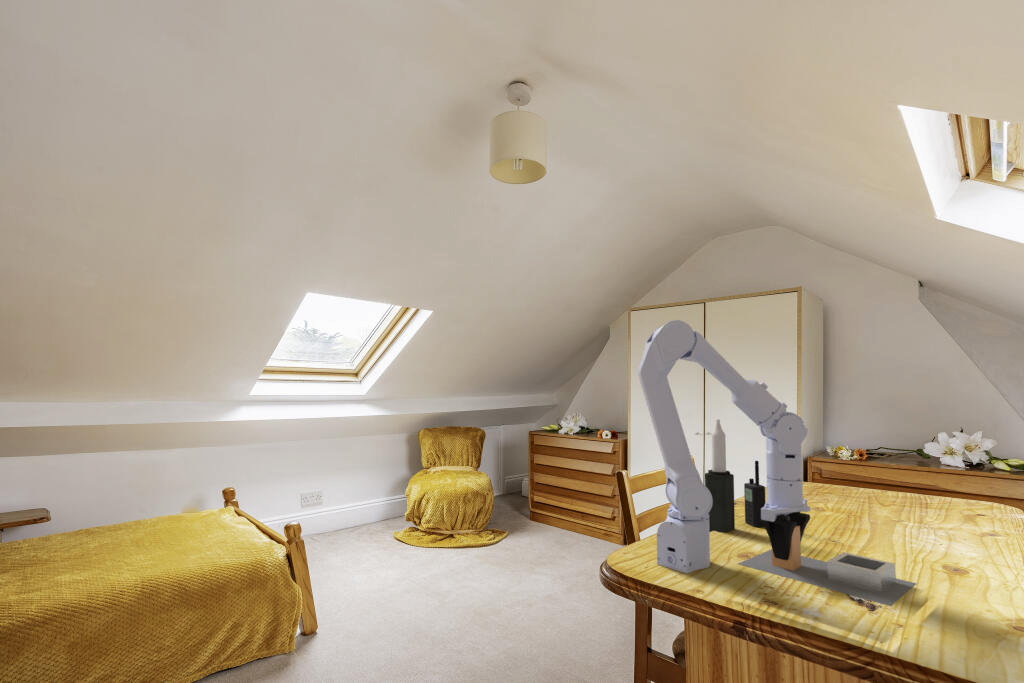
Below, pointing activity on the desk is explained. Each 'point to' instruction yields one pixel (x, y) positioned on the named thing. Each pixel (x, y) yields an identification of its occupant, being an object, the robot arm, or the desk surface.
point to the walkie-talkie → (754, 499)
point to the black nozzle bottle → (720, 486)
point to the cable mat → (826, 578)
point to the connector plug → (791, 552)
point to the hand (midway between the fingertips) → (786, 556)
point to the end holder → (861, 572)
